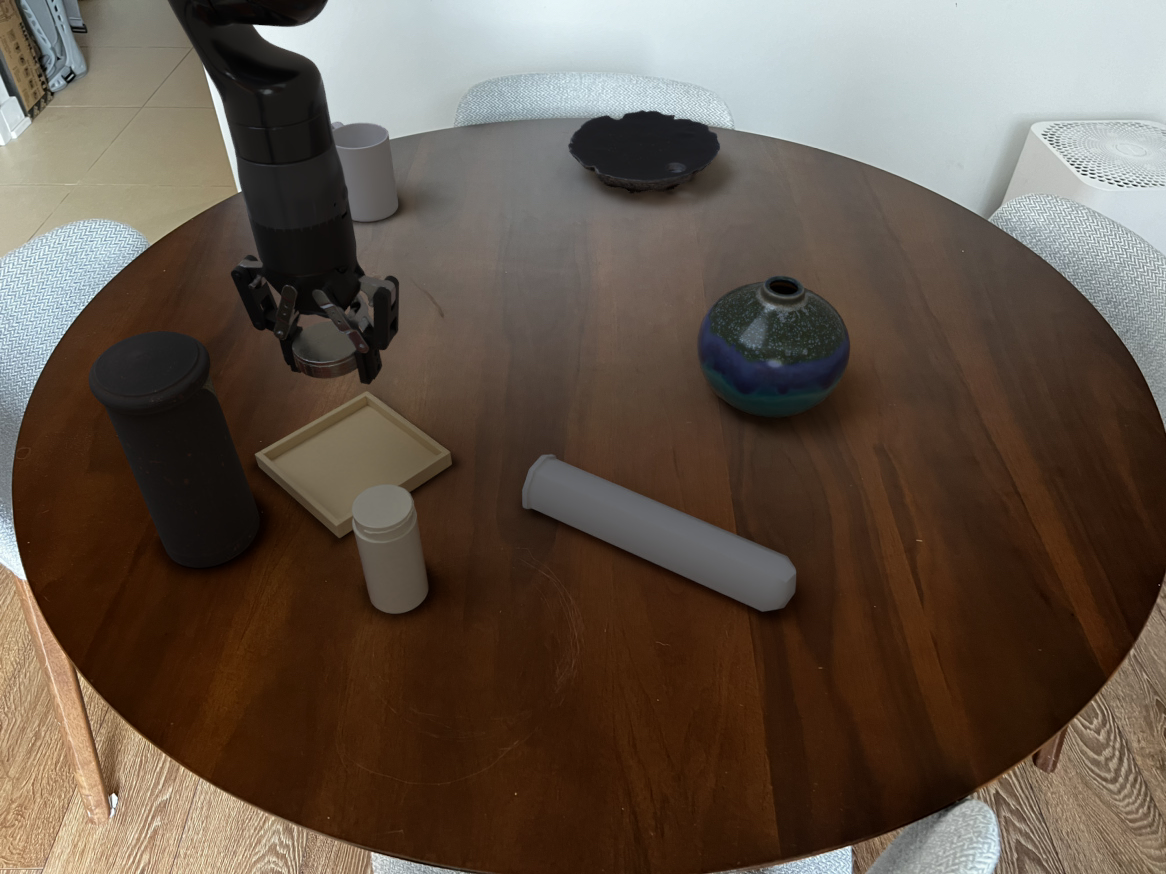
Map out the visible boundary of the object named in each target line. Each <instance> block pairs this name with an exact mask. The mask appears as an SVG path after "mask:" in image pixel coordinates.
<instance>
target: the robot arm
mask: <svg viewBox="0 0 1166 874" xmlns="http://www.w3.org/2000/svg"><path fill="white" fill-rule="evenodd" d="M167 2H168V4H169V6H170V8H171V11H172V12H173V14H174V15H175V17H176V19H177V21H178V23H179V25H180V27H181V28H182V29H183V31H184V33H185V35H186V37H187V39H188V40H189V42H190V44H191V46H192V47H193V49H194V51H195V52H196V54H197V57H198V59H199V61H200V62H201V64H202V67H203V68H204V69H205V71H206V73H207V74H208V77H209V78H210V80H211V82H212V84H213V86H214V87H215V90H216V91H217V93H218V95H219V97H220V101H221V103H222V107H223V112H224V116H225V119H226V123H227V126H228V132H229V134H230V138H231V142H232V146H233V149H234V154H235V158H236V159H235V160H236V161H235V162H236V168H237V170H236V171H237V177H238V182H239V186H240V190H241V194H242V197H243V201H244V205H245V210H246V213H247V217H248V220H249V224H250V228H251V233H252V235H253V240H254V243H255V247H256V251H257V255H258V258H259V259H258V258H257V257H256V256H255V255H253V254H247V255H246V256H245V257H244V258H243V259H242V260H241V261H240V262H239V263H238V264H237V265H236V266H235V267H234V268H233V269H232V270H231V271H230V277H231V279H232V281H233V283H234V285H235V288H236V291H237V292H238V295H239V297H240V299H241V301H242V304H243V307H244V309H245V311H246V312H247V315H248V317H249V319H250V322H251V324H252V326H253V328H255V329H256V330H257V331H261V332H263V331H265V330H268V331H270V332H272V333H273V336H274V337H275V338H276V339H278V343H279V345H280V349H281V352H282V356H283V361H284V362H285V363H286V365H287V366H289V367H290V371H291V372H292V373H297V374H301V373H302V372H300V370H299V369H298V367H296V364H295V360H294V356H293V352H292V350H293V349H292V343H293V340H294V339H295V337H296V336H297V335H298V334H299V333H300V332H301V331H302V330H304V327H303V326H301V325H299V323H300V321H301V318H302V316H318V317H321V318H324V319H328V320H330V321H332V322H333V323H334V325H335V326H336V328H337V329H338V330H339V332H340V333H345V334H346V335H347V336H348V338H349V339H350V341H351V342H352V344H353V345H354V346H355V348H356V350H355V352H354V353H355V358H356V363H357V372H358V377H359V382H360V384H362V385H368V386H369V385H371V384H372V383H373V381H375V380H376V378H377V377H378V375H379V374H380V373H381V370H382V368H383V363H382V357H381V351H387V349H388V347H389V346H390V343H391V342H392V341H393V339H394V338H395V336H396V335H397V334H398V333H399V320H400V319H399V318H400V316H399V315H400V313H399V312H400V281H399V279H398V278H397V277H396V276H394V275H386V277H385V278H384V279H380V278H376V277H372V276H369V275H366V273H365V271H364V269H363V268H362V266H361V265H360V263H359V261H358V259H357V258H358V256H357V255H358V254H357V240H356V233H355V229H354V223H353V220H352V217H351V211H350V206H349V200H348V189H347V186H346V183H345V178H344V172H343V168H342V164H341V160H340V157H339V154H338V152H337V149H336V145H335V141H334V138H333V131H332V126H331V124H332V122H331V120H332V119H331V115H330V111H329V104H328V99H327V93H326V88H325V84H324V80H323V77H322V73H321V71H320V69H319V68H318V66H317V65H316V63H315V62H314V61H313V60H312V59H310V58H308V57H307V56H305V55H304V54H300V53H298V52H295V51H293V50H290V49H286V48H283V47H281V46H278V45H276V44H274V43H272V42H269V40H267V39H265V38H264V37H263V36H262V35H261V34H260V33H259V32H258V30H257V29H256V27H255V26H264V27H266V26H267V27H276V28H277V27H278V28H295V27H299V26H303V25H306V24H308V23H311V21H313V20H315V19H316V18H317V17H318V16H319V15H320V14H321V13H322V12H323V11H324V10H325V8H326V6H327V3H328V2H329V0H167ZM270 286H271V287H272V288H273V289H274V290H275V291H276V292H277V293H278V294H279V296H280V299H279V303H278V304H277V302H276V300H275V297H274V294H273V292H272V290H271V288H270ZM360 292H362V293H364V294H365V296H366V297H367V301H368V304H367V302H366V301H365V300H364V298H363V296H362V295H361V293H360ZM369 307H370V308H373V318H372V317H371V315H370V314H369ZM348 308H349V311H348V312H347V314H346V311H347V310H348Z"/></svg>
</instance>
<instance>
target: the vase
mask: <svg viewBox="0 0 1166 874" xmlns="http://www.w3.org/2000/svg"><path fill="white" fill-rule="evenodd" d="M696 341H697V343H696V354H697V358H698V364H699V368H700V370H701V373H702V374H703V377H704V379H705V381H706V383H707V384H708V385H709V386H710V388H711V389H712V391H713V392H714V394H716V395H717V396H718V397H719V399H721V400H723V401H724V402H725V403H726V404H728V405H730V406H731V407H733V408H735V409H736V410H739V411H741V412H743V413H746V414H750V415H754V416H759V417H762V418H763V417H764V418H785V417H792V416H795V415H799V414H802V413H805V412H808V411H810V410H811V409H813V408H814V407H816V406H818V405H820V404H821V403H823V401H825V400H826V399H827V398H828V397H829V396H830V395H831V394H832V393H834V391H835V390H836V389H837V387H838V385H839V384H840V383H841V381H842V380H843V377H844V375H845V372H846V371H847V367H848V365H849V362H850V355H851V354H850V353H851V339H850V334H849V330H848V328H847V326H846V324H845V321H844V319H843V317H842V316H841V315H840V313H839V311H838V310H837V309H836V308H835V307H834V306H833V305H832V304H831V303H830V301H828V300H827V299H826V298H824V297H823V296H821V295H819V294H818V293H816V292H814V291H813V290H811V289H808V288H807V287H805V286H804V284H803V283H802V282H801V281H800V280H799V279H797V278H795V277H792V276H788V275H772V276H770V277H768V278H766V279H765V280H764V281H756V282H752V283H747V284H744V285H740V286H738V287H735V288H733V289H731V290H730V291H727V292H726V293H725V294H723V295H721V296H720V297H719V298H717V300H716V301H714V303H712V304H711V306H710V307H709V308H708V310H707V312H706V313H705V314H704V317H702V320H701V323H700V325H699V329H698V333H697V338H696Z"/></svg>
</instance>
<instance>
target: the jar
mask: <svg viewBox="0 0 1166 874" xmlns="http://www.w3.org/2000/svg"><path fill="white" fill-rule="evenodd" d="M352 515H353V520H352V527H353V530H352V531H353V534H354V535H353V536H354V538H355V542H356V547H357V551H358V556H359V560H360V563H361V564H360V565H361V569H362V572H363V576H364V580H365V585H366V589H367V593H368V597H369V600H370V602H371V604H372V606H374V607H375V608H376V609H377V610H379V611H381V612H383V613H387V614H392V615H393V614H395V615H396V614H404V613H407V612H409V611H413V610H414V609H416V608H417V607H418V606H420V605H421V604H423V602H424V600H425V599H426V597H427V595H428V592H429V580H428V575H427V567H426V562H425V556H424V550H423V543H422V538H421V531H420V525H419V520H418V513H417V510H416V507H415V501H414V499H413V496H412V493H411V492H408V491H407V490H406V489H404V488H402V487H399V486H395V485H389V484H383V485H377V486H373V487H370V488H368V489H366V490H364V491H363V492H362V493H360V494H359V495H358V496H357V497H356V499H355V500H354V502H353V505H352Z"/></svg>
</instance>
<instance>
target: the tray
mask: <svg viewBox="0 0 1166 874" xmlns="http://www.w3.org/2000/svg"><path fill="white" fill-rule="evenodd" d="M254 456H255V459H256V460H255V461H256V462H257V465H258V468H260V469H261V470H262V471H263V472H264V473H265V474H266V475H267V476H269V477H270V478H271V479H272V480H273V481H274V482H275V483H276V484H278V485H279V486H280V487H281V488H282V489H283V490H284V491H285V492H287V494H289V495H290V496H291V497H292V498H293V499H295V500H296V502H298V503H299V504H300V505H301V506H302V507H303V508H304V509H306V510H307V511H308V512H309V513H310V514H311V515H312V516H314V517H315V519H317V520H318V521H319V522H320V523H321V524H323V525H324V526H325V527H326V528H327V529H328V530H329V531H330V532H331V533H333V534H334V536H336V537H337V538H338V539H341V538H342V537H344V536H345V535H347V534H348V533H350V532H352V531H353V527H352V520H353V515H352V505H353V502H354V500H355V499H356V497H357V496H358V495H359V494H360V493H362V492H363V491H364V490H366V489H368V488H370V487H373V486H377V485H383V484H389V485H395V486H399V487H402V488H404V489H406V490H407V491H408V492H409V493H411V492H412V491H414V490H416V489H417V488H419V487H420V486H421V485H424V484H425V483H426V482H428V481H429V480H431V479H432V478H434V477H436V476H437V475H438V474H440V473H441V472H443V471H444V470H446V469H447V468H449V467H450V466H452V465H453V462H452V453H451V451H450V450H448V449H447V448H446V447H444V446H443V445H441V444H440V443H439V442H438V441H436V440H435V439H433V438H432V437H431V436H429V435H428V434H427V433H425V432H424V431H423V430H421V429H419V428H418V427H417V426H416V425H415V424H412V423H411V421H409V420H407V419H406V418H405V417H403V415H400V413H398V412H396V411H395V410H394V409H393V408H391V406H389V405H387V404H386V403H385V402H383V401H382V400H380V399H379V398H378V397H376V396H375V395H373V394H372V393H371V392H369V391H368V390H367V391H364V392H363V393H361V394H359V395H356V396H355V397H354V398H351V399H349V400H348V401H346V402H344V403H343V404H341V405H339V406H338V407H336V408H334V409H332V410H331V411H329V412H327V413H325V414H323V415H322V416H320V417H318V418H316V419H315V420H313V421H311V422H310V423H308V424H306V425H304V426H303V427H302V426H301V428H298V429H297V430H295V431H293V432H292V433H289V434H288V435H286V436H285V437H283V438H281V439H279V440H278V441H276V442H273V443H272V444H270V445H269V446H267V447H265V448H263V449H260V451H258V452H256V453H254Z"/></svg>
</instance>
